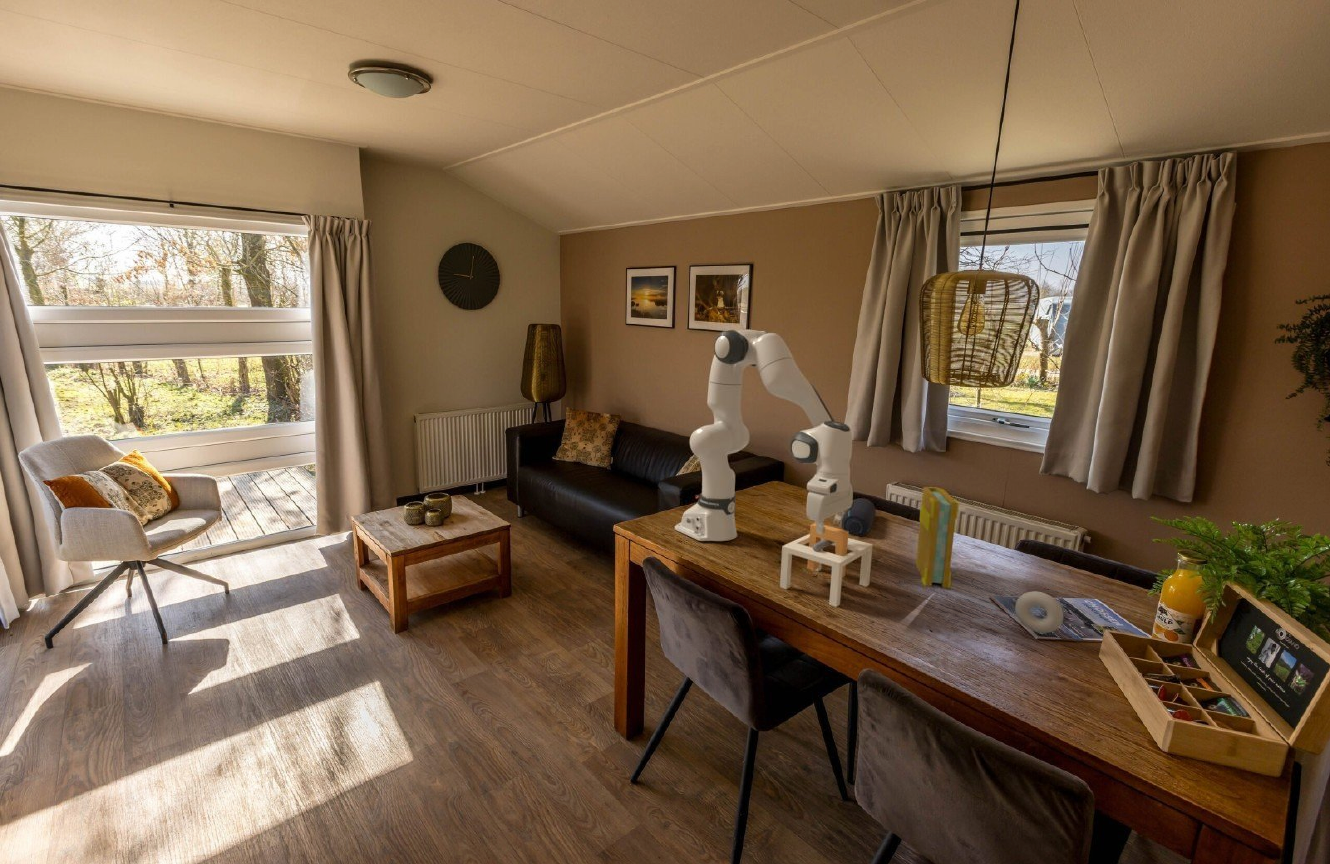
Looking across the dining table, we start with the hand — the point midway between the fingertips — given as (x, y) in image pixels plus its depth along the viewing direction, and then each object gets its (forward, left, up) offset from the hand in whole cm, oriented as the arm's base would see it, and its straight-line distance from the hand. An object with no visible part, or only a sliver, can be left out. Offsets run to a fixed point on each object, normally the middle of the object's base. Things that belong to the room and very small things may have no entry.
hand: (828, 529), depth 165 cm
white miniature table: (0, 0, -17) cm, 17 cm away
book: (+19, +30, -17) cm, 39 cm away
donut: (+49, +13, -17) cm, 54 cm away
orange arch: (0, 0, -13) cm, 13 cm away
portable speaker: (-15, +54, -17) cm, 59 cm away
